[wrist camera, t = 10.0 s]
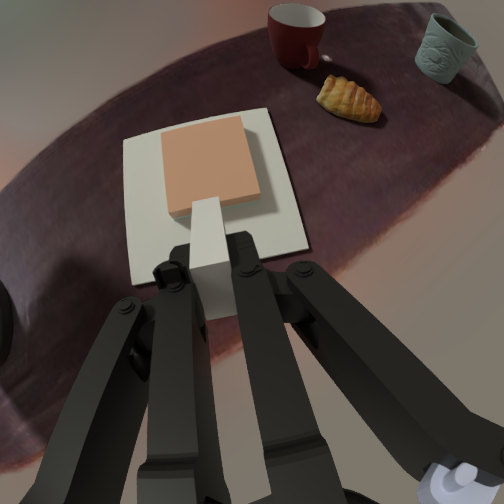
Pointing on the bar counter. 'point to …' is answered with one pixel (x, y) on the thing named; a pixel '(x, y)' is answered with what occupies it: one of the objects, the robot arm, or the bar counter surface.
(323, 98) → the pastry
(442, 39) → the green ceramic cup
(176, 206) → the tile
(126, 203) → the mat
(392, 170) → the bar counter surface
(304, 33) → the mug
